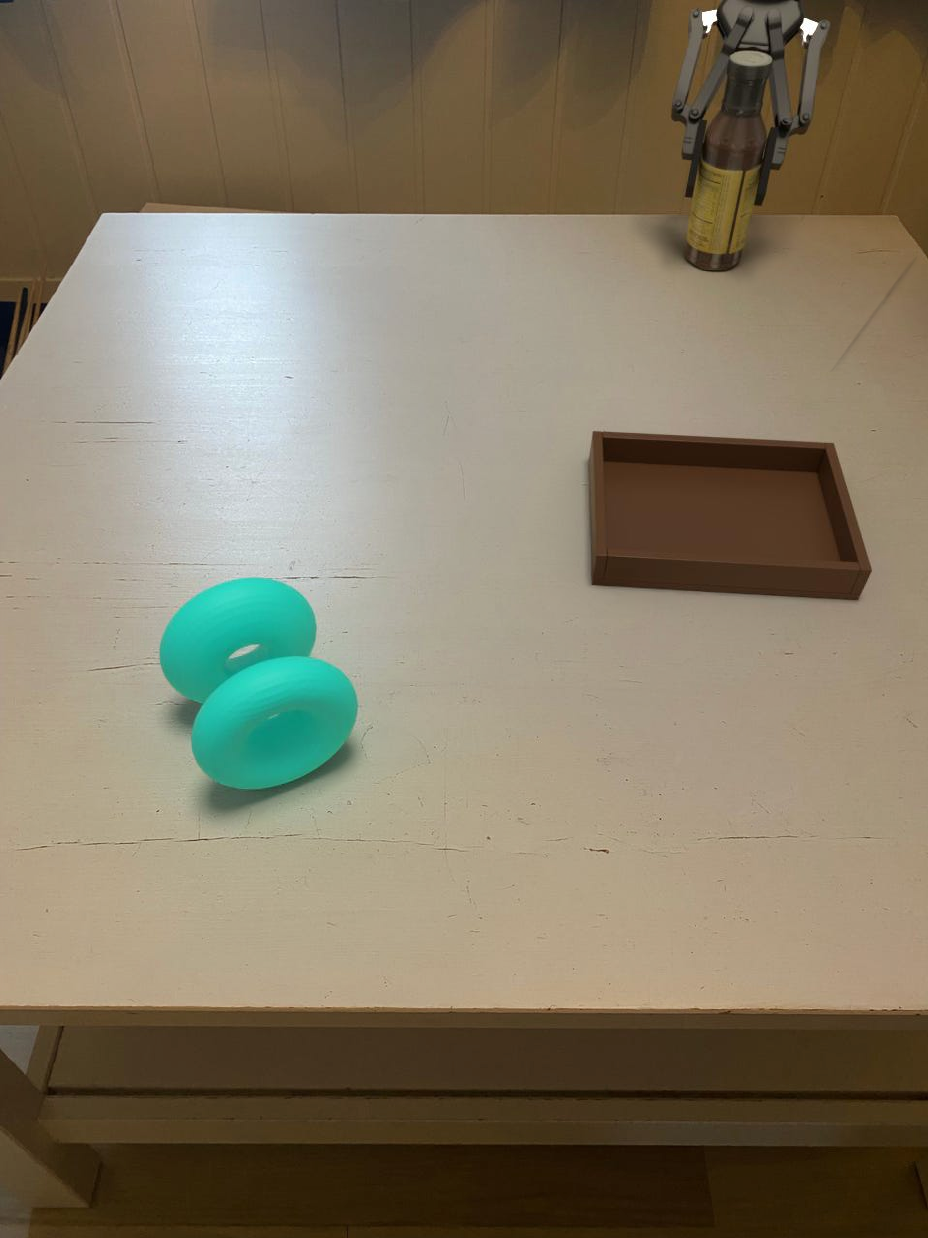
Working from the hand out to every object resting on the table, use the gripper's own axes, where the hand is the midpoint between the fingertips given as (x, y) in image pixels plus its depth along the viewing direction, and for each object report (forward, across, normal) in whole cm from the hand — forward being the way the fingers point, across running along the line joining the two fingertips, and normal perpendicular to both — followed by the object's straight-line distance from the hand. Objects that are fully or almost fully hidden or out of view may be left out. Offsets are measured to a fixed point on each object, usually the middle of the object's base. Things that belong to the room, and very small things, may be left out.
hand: (724, 195), depth 94 cm
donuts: (+53, +23, +41) cm, 71 cm away
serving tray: (+34, -4, +22) cm, 40 cm away
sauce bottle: (+4, 0, -9) cm, 9 cm away
